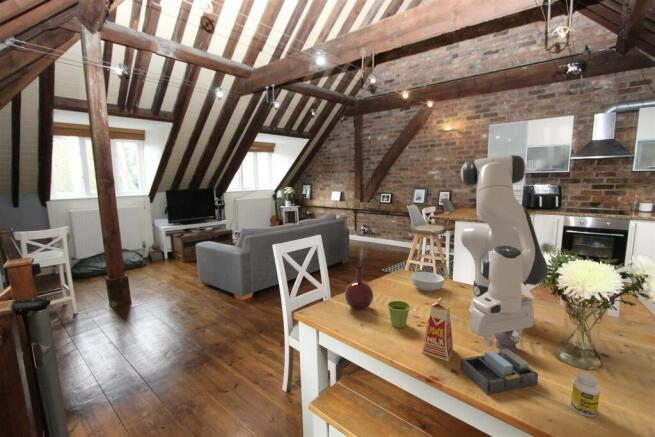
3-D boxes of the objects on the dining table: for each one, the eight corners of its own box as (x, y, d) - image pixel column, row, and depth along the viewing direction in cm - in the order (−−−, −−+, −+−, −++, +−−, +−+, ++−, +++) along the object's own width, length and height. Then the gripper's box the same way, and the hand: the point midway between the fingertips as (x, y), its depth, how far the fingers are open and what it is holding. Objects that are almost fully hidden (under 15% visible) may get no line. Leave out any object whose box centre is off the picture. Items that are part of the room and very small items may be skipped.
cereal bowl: (439, 297, 157) (439, 284, 156) (407, 291, 166) (407, 278, 165) (446, 287, 171) (447, 274, 170) (416, 281, 180) (417, 270, 179)
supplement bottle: (577, 416, 80) (581, 381, 79) (566, 401, 85) (570, 368, 84) (601, 419, 79) (606, 384, 78) (588, 403, 84) (592, 371, 83)
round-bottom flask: (341, 304, 150) (341, 265, 147) (366, 301, 153) (366, 262, 150) (350, 316, 137) (350, 273, 134) (377, 312, 141) (378, 270, 138)
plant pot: (410, 331, 124) (411, 310, 123) (386, 329, 126) (387, 309, 125) (409, 320, 133) (409, 301, 132) (387, 318, 135) (387, 299, 134)
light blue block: (491, 364, 100) (492, 350, 99) (511, 380, 92) (512, 365, 92) (483, 366, 99) (484, 351, 99) (503, 382, 92) (504, 366, 91)
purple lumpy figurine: (488, 341, 116) (490, 311, 114) (508, 340, 116) (510, 310, 115) (502, 354, 107) (504, 322, 106) (523, 353, 108) (526, 321, 106)
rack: (460, 368, 100) (461, 351, 99) (505, 361, 104) (507, 344, 103) (486, 394, 88) (488, 375, 87) (537, 384, 92) (538, 366, 91)
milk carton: (448, 361, 104) (451, 305, 101) (421, 353, 109) (422, 299, 106) (453, 348, 112) (456, 295, 109) (427, 341, 116) (429, 290, 114)
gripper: (523, 292, 98) (520, 332, 100) (467, 300, 93) (465, 342, 95) (541, 300, 92) (538, 343, 94) (482, 309, 87) (480, 354, 89)
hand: (501, 343), depth 95 cm, fingers open, 8 cm apart
